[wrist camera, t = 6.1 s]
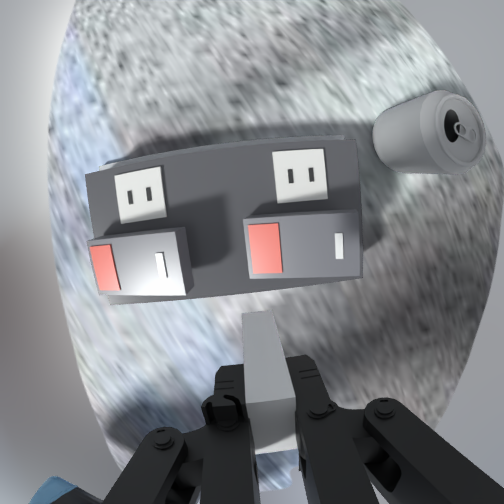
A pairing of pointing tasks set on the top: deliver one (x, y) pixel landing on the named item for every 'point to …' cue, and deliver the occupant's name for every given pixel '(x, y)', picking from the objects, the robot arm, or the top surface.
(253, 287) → the power strip
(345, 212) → the rocker
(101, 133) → the top surface
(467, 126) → the can
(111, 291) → the block
